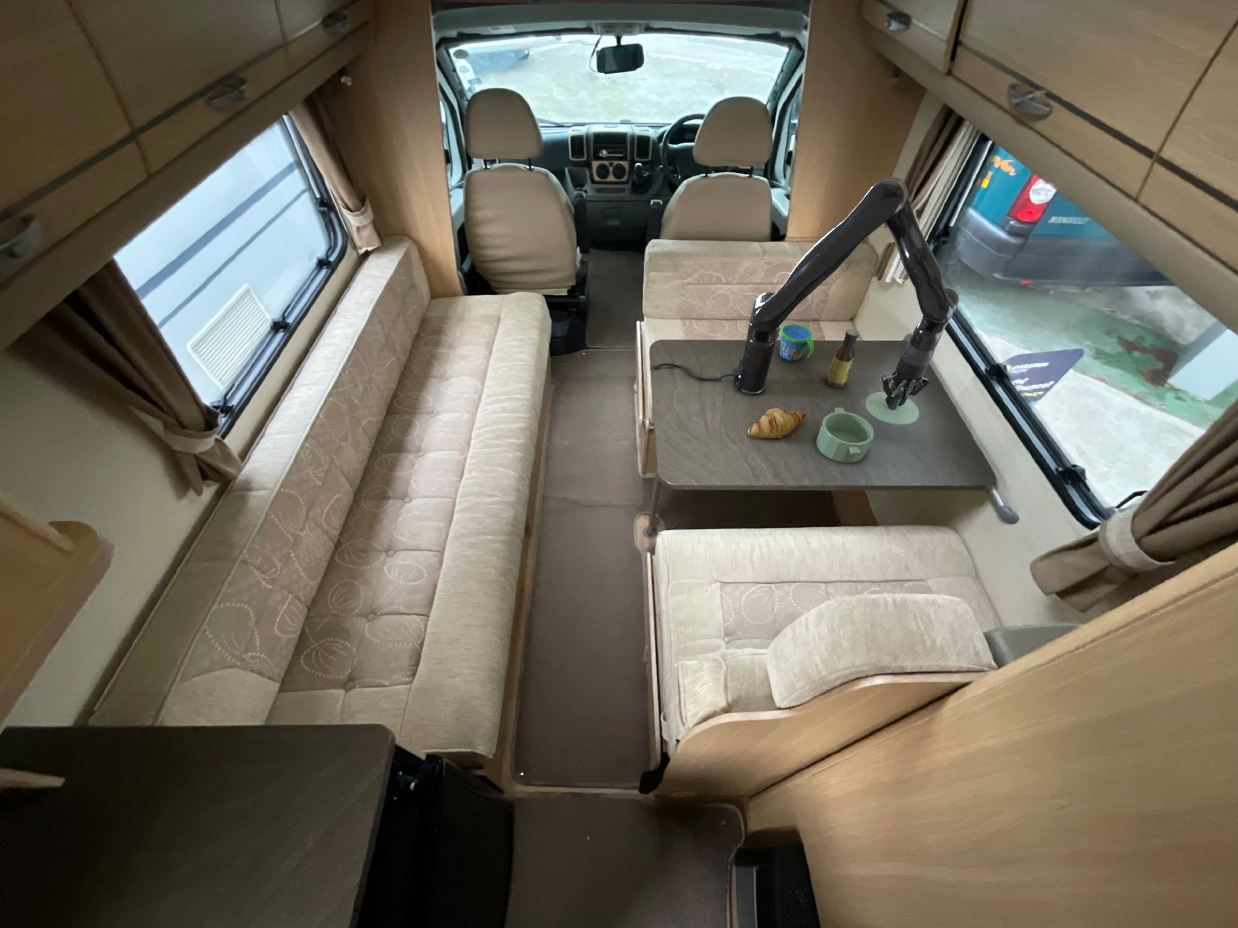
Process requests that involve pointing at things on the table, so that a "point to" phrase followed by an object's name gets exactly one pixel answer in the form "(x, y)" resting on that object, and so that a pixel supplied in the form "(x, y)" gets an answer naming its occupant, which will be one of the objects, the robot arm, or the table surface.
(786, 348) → the snack cup
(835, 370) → the sauce bottle
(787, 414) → the croissant
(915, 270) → the robot arm
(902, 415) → the pot lid
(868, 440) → the pot
